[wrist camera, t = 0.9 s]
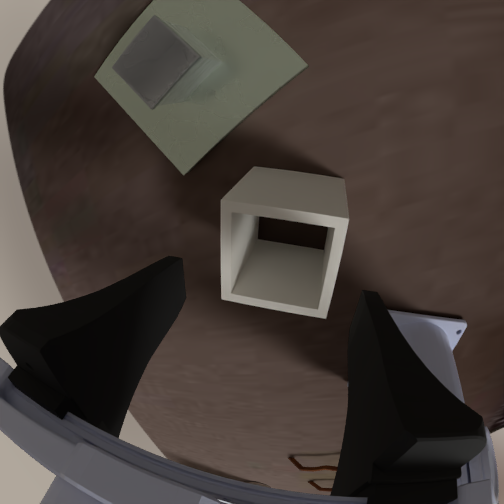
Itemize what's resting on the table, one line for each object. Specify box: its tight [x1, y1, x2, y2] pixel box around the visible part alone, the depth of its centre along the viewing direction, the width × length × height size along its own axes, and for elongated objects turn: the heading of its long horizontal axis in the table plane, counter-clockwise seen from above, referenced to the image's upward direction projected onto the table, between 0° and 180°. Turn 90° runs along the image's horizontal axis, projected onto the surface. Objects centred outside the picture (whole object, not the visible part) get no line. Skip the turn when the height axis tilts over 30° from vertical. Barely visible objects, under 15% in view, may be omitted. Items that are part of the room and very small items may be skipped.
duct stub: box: [94, 0, 309, 175], centre depth 14 cm, size 10×10×4 cm
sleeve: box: [221, 166, 349, 319], centre depth 16 cm, size 5×5×6 cm
